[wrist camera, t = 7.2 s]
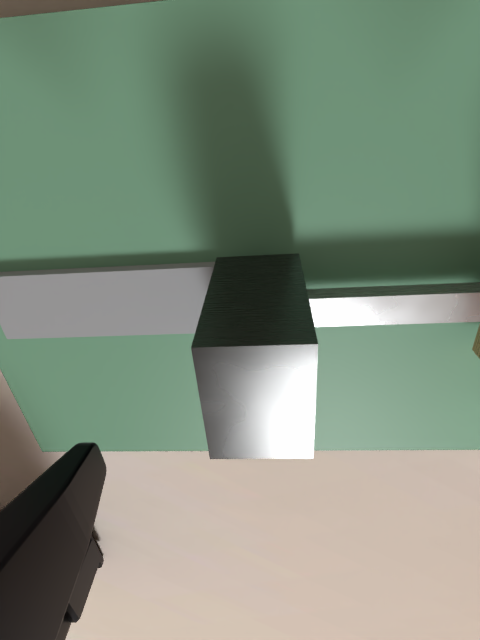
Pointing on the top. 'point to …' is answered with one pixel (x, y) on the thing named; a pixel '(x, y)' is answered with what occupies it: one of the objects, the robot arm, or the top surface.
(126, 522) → the top surface
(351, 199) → the pitch
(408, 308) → the push rod
